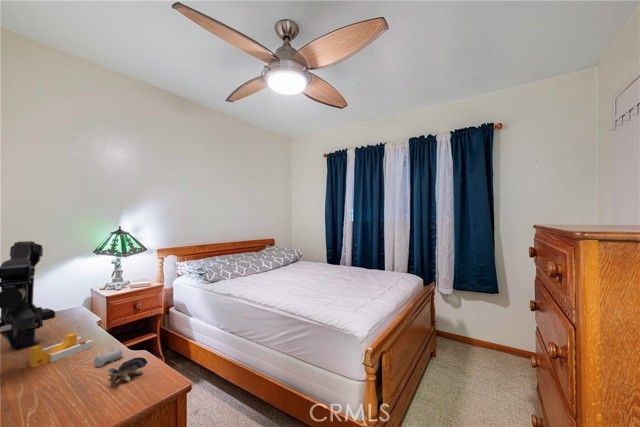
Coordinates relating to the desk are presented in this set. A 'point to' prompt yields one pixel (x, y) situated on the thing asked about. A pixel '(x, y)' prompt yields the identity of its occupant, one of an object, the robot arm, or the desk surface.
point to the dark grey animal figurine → (127, 369)
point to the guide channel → (69, 349)
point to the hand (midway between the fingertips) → (13, 348)
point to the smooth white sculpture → (107, 357)
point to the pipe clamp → (41, 357)
